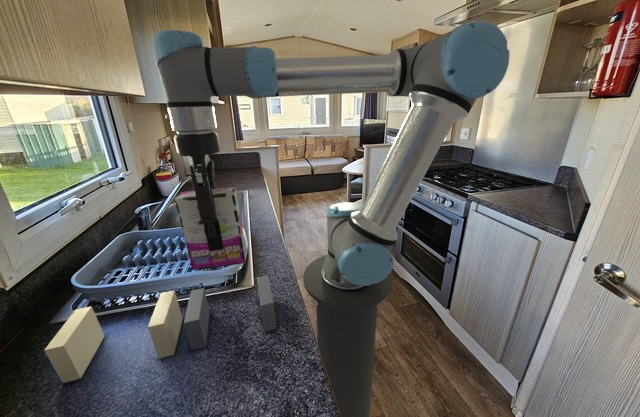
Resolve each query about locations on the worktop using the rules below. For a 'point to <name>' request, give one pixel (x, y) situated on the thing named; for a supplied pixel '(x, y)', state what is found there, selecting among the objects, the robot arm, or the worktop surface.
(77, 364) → the cream book
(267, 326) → the grey book
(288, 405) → the worktop surface
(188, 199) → the candy bar box
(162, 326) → the cream book
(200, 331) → the grey book
